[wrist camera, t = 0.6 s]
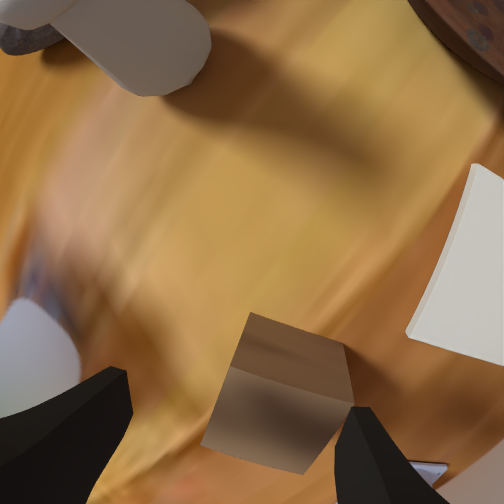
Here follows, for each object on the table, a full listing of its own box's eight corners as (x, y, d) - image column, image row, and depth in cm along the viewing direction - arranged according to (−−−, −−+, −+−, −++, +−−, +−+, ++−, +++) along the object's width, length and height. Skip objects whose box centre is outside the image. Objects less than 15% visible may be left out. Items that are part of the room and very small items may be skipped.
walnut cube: (305, 410, 20) (303, 474, 15) (223, 384, 21) (200, 445, 15) (342, 342, 19) (355, 403, 13) (250, 311, 19) (229, 365, 13)
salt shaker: (205, 6, 15) (99, -133, 2) (235, 79, 16) (116, -65, 3) (122, 47, 16) (-30, -30, 4) (144, 120, 17) (-46, 79, 5)
